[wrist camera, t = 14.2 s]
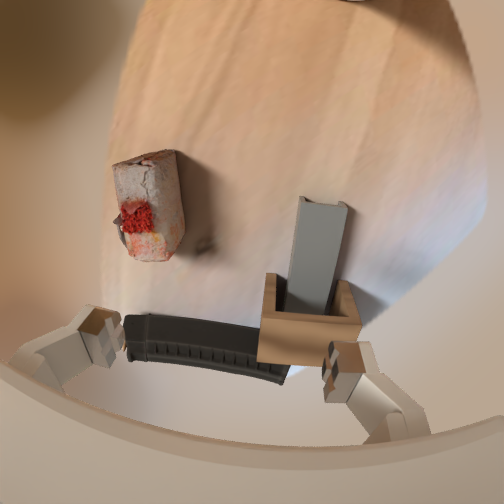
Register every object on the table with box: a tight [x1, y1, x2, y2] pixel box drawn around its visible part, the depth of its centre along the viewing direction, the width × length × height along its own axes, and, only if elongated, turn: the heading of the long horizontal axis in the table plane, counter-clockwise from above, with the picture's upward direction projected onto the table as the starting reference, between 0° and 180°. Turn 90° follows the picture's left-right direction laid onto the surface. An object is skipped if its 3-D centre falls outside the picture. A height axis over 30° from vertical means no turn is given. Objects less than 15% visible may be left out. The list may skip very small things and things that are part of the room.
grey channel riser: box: [282, 196, 348, 315], centre depth 40 cm, size 20×6×3 cm, turn 176°
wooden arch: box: [256, 273, 362, 367], centre depth 39 cm, size 8×12×10 cm, turn 86°
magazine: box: [122, 314, 291, 385], centre depth 44 cm, size 17×3×30 cm
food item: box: [112, 149, 186, 262], centre depth 34 cm, size 14×8×10 cm, turn 4°
